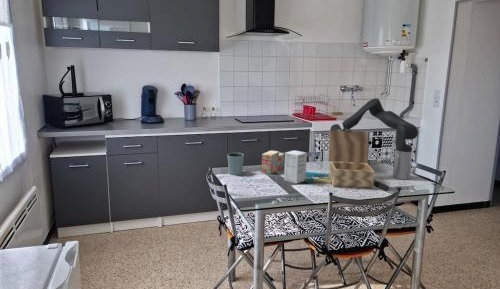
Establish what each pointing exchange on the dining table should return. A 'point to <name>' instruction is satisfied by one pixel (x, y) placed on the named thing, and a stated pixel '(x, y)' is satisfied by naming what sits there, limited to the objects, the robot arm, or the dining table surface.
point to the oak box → (351, 175)
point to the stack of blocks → (272, 161)
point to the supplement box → (295, 166)
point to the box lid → (348, 146)
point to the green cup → (235, 163)
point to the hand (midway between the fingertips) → (345, 140)
